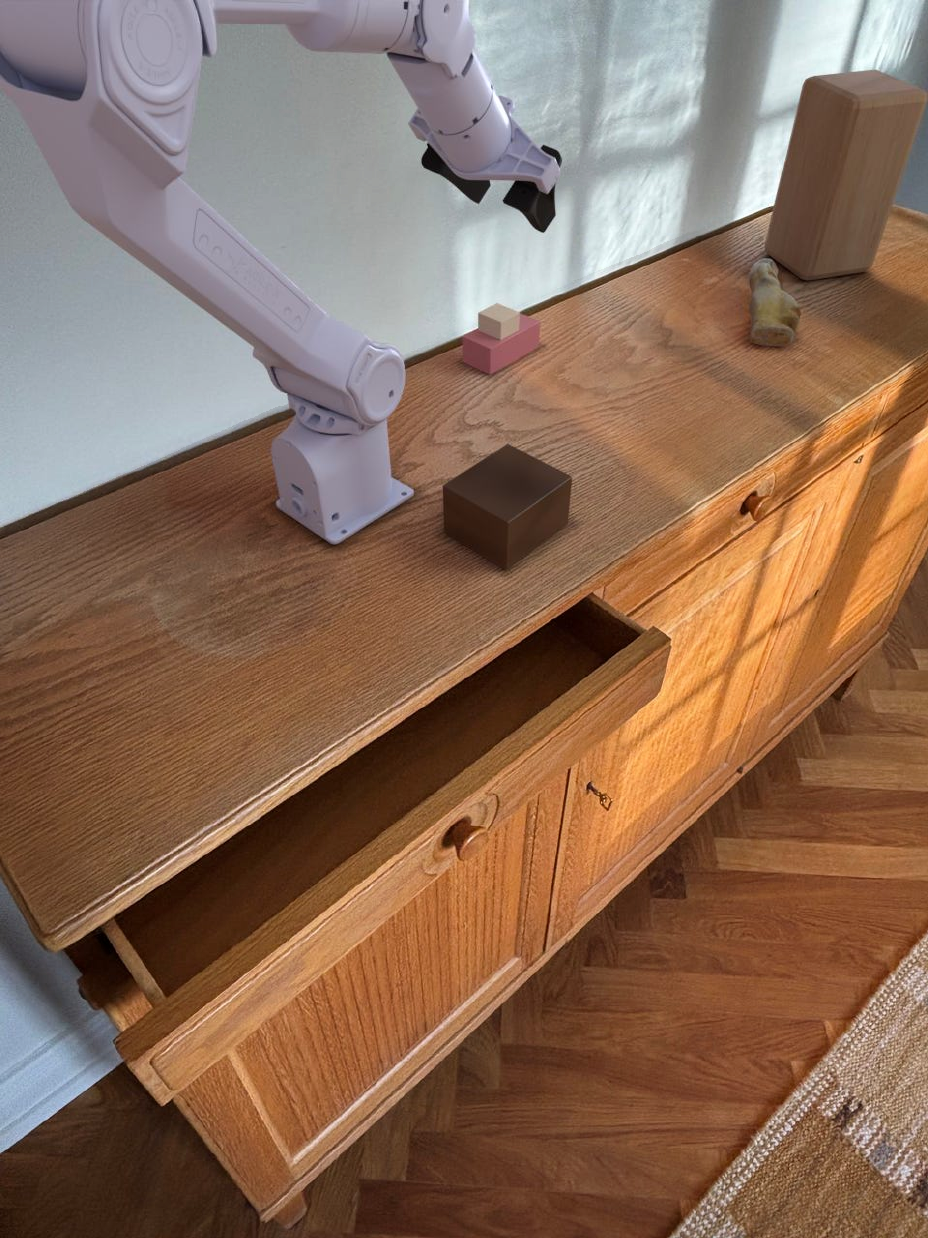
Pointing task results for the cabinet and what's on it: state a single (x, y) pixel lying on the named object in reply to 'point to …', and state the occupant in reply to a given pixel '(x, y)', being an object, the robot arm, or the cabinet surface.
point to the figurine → (771, 307)
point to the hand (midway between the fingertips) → (514, 207)
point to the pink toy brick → (500, 339)
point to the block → (842, 171)
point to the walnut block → (506, 505)
